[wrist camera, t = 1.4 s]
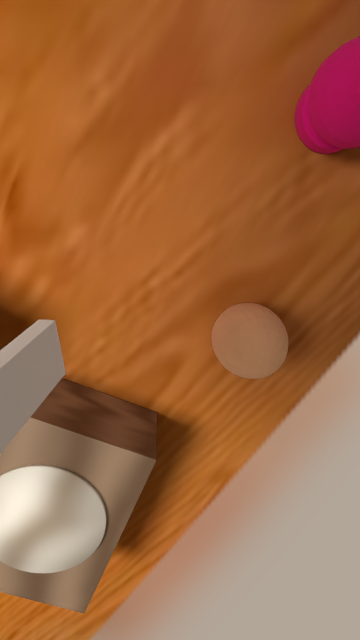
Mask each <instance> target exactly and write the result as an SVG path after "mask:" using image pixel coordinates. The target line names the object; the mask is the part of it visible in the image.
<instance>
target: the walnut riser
mask: <svg viewBox="0 0 360 640" xmlns="http://www.w3.org/2000/svg"><path fill="white" fill-rule="evenodd" d="M156 460H157V412H154V411H152V410H149V409H146V408H143V407H141V406H138V405H135V404H132V403H129V402H127V401H124V400H121V399H118V398H116V397H113V396H110V395H107V394H105V393H102V392H99V391H96V390H93V389H91V388H88V387H85V386H82V385H80V384H77V383H74V382H71V381H68V380H66V379H63V378H61V380H60V381H59V382H58V383H57V385H56V386H55V387H54V388H53V390H52V391H51V392H50V393H49V395H48V396H47V397H46V398H45V400H44V401H43V402H42V403H41V405H40V406H39V407H38V408H37V410H36V411H35V412H34V413H33V415H32V416H31V417H30V418H29V420H28V421H27V422H26V423H25V425H24V426H23V427H22V428H21V430H20V431H19V432H18V433H17V435H16V436H15V437H14V438H13V440H12V441H11V442H10V443H9V445H8V446H7V447H6V448H5V450H4V451H3V452H2V453H1V455H0V592H3V593H7V594H11V595H14V596H18V597H22V598H26V599H30V600H34V601H38V602H42V603H46V604H50V605H54V606H58V607H61V608H65V609H69V610H73V611H77V612H81V613H85V611H86V609H87V606H88V604H89V602H90V600H91V598H92V596H93V594H94V592H95V589H96V587H97V585H98V583H99V581H100V579H101V577H102V575H103V573H104V570H105V568H106V566H107V564H108V562H109V560H110V558H111V556H112V553H113V551H114V549H115V547H116V545H117V543H118V541H119V539H120V537H121V534H122V532H123V530H124V528H125V526H126V524H127V522H128V520H129V517H130V515H131V513H132V511H133V509H134V507H135V505H136V503H137V501H138V498H139V496H140V494H141V492H142V490H143V488H144V486H145V484H146V481H147V479H148V477H149V475H150V473H151V471H152V469H153V467H154V465H155V462H156Z"/></svg>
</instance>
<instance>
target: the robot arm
mask: <svg viewBox="0 0 360 640" xmlns="http://www.w3.org/2000/svg"><path fill="white" fill-rule="evenodd" d="M65 374H66V371H65V367H64V362H63V357H62V352H61V347H60V342H59V337H58V332H57V327H56V322H55V320H40V319H39V320H38V321H36V322H35V323H34V324H33V325H31V326H30V327H29V328H28V329H26V330H25V331H24V332H23V333H21V334H20V335H19V336H18V337H16V338H15V339H14V340H13V341H11V342H10V343H9V344H8V345H6V346H5V347H4V348H3V349H1V350H0V455H1V453H2V452H3V451H4V450H5V448H6V447H7V446H8V445H9V443H10V442H11V441H12V440H13V438H14V437H15V436H16V435H17V433H18V432H19V431H20V430H21V428H22V427H23V426H24V425H25V423H26V422H27V421H28V420H29V418H30V417H31V416H32V415H33V413H34V412H35V411H36V410H37V408H38V407H39V406H40V405H41V403H42V402H43V401H44V400H45V398H46V397H47V396H48V395H49V393H50V392H51V391H52V390H53V388H54V387H55V386H56V385H57V383H58V382H59V381H60V380H61V378H62V377H63V376H64V375H65Z"/></svg>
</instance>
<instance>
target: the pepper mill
mask: <svg viewBox="0 0 360 640" xmlns="http://www.w3.org/2000/svg"><path fill="white" fill-rule="evenodd" d="M295 125H296V129H297V133H298V135H299V137H300V139H301V140H302V142H303V143H304V144H305V145H306V146H307V147H308V148H309V149H311V150H313V151H314V152H317V153H321V154H330V153H335V152H337V151H340V150H342V149H347V148H357V147H360V36H359V37H357V38H355V39H353V40H351V41H349V42H347V43H345V44H343V45H342V46H340V47H339V48H338V49H337V50H336V51H334V52H333V53H332V54H331V55H330V56H329V57H328V58H327V59H326V60H325V61H324V62H323V63H322V64H321V66H320V67H319V69H318V70H317V72H316V74H315V76H314V78H313V80H312V83H311V84H310V85H309V86H308V87H307V88H306V90H305V91H304V92H303V94H302V95H301V97H300V99H299V101H298V104H297V108H296V114H295Z"/></svg>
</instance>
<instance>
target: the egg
mask: <svg viewBox="0 0 360 640" xmlns="http://www.w3.org/2000/svg"><path fill="white" fill-rule="evenodd" d="M211 341H212V347H213V351H214V353H215V355H216V357H217V359H218V360H219V361H220V363H221V364H222V365H223V367H225V368H226V369H227V370H228V371H229V372H231V373H233V374H234V375H236V376H239V377H243V378H248V379H260V378H264V377H267V376H269V375H271V374H273V373H274V372H276V371H277V370H278V369H279V368H280V367H281V366H282V364H283V362H284V361H285V359H286V356H287V353H288V344H289V343H288V334H287V331H286V328H285V326H284V325H283V323H282V321H281V320H280V318H279V317H278V316H277V315H276V314H275V313H273V312H272V311H271V310H270V309H268V308H266V307H264V306H262V305H260V304H255V303H239V304H236V305H233V306H231V307H229V308H228V309H226V310H225V311H224V312H222V313H221V314H220V315H219V317H218V319H217V320H216V322H215V324H214V327H213V330H212V336H211Z"/></svg>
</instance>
